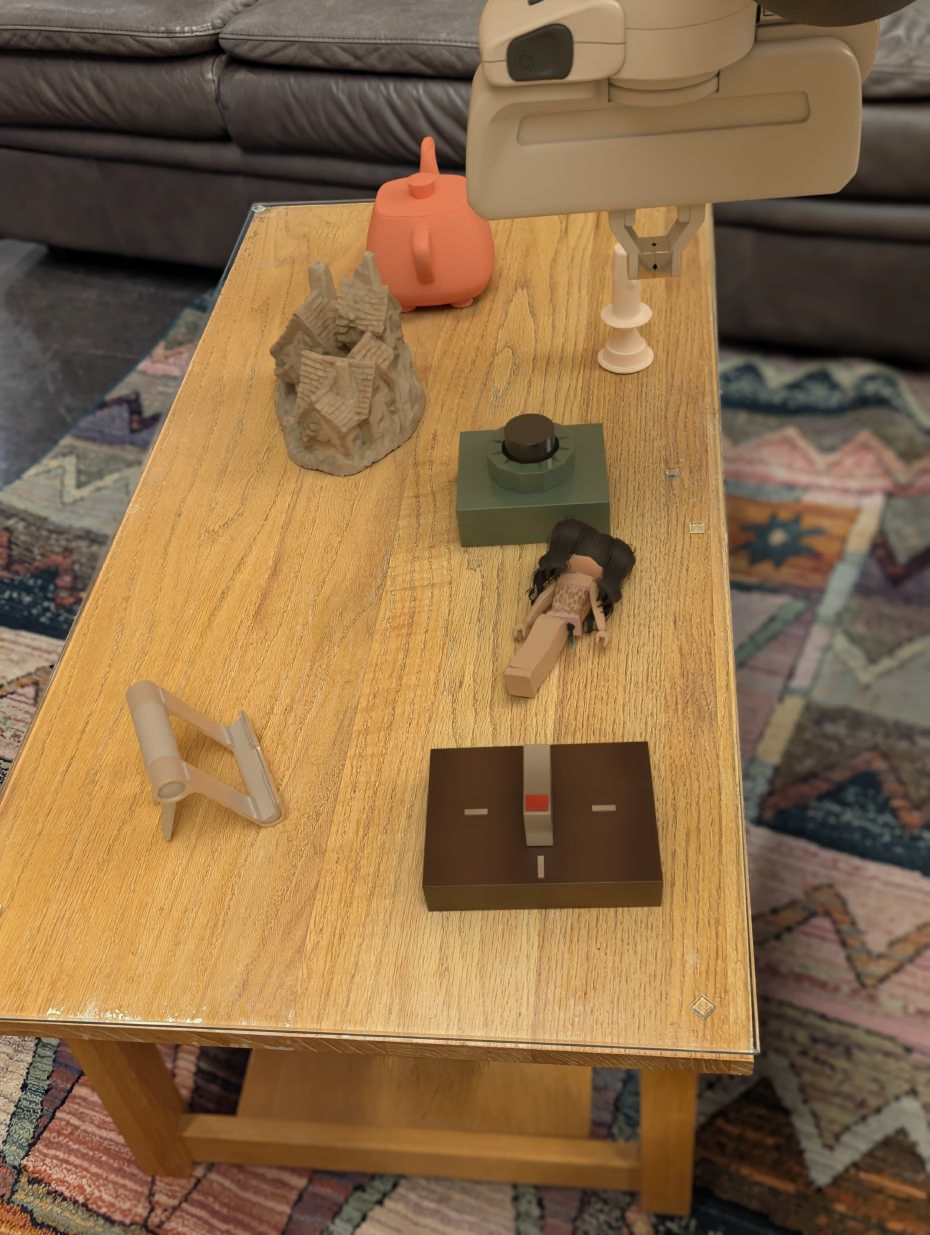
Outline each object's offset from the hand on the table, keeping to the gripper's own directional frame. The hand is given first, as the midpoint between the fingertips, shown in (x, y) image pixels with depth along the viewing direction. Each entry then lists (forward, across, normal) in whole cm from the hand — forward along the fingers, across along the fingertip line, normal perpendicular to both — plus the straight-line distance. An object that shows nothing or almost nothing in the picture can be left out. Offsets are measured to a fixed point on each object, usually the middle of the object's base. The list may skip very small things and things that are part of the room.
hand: (653, 273), depth 61 cm
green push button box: (+27, +8, -12) cm, 31 cm away
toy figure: (+27, +6, +2) cm, 28 cm away
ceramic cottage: (+27, +26, -26) cm, 46 cm away
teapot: (+27, +18, -48) cm, 58 cm away
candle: (+27, -1, -32) cm, 42 cm away
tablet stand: (+27, +30, +16) cm, 44 cm away
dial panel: (+27, +8, +20) cm, 35 cm away
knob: (+21, +8, -12) cm, 26 cm away
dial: (+24, +8, +20) cm, 32 cm away
